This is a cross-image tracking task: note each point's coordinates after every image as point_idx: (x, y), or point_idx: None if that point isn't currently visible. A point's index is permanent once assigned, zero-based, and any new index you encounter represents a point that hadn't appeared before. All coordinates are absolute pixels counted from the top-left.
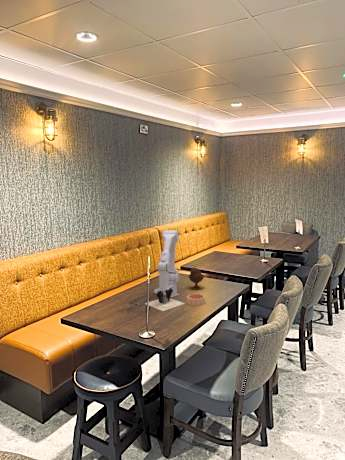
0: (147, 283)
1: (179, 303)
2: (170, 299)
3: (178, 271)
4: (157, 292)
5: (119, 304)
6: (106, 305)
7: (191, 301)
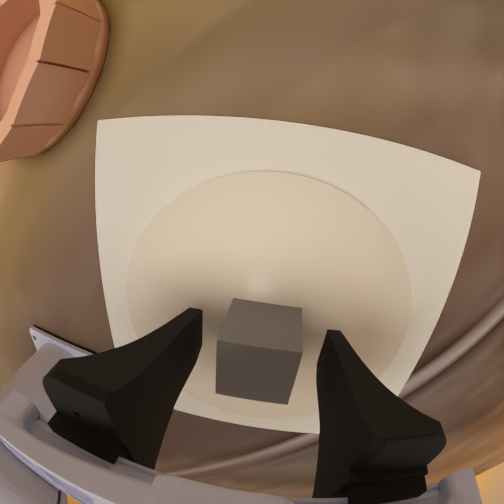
0: None
1: (135, 166)
2: (139, 328)
3: None
4: (426, 488)
5: None
6: (439, 480)
7: (76, 12)
